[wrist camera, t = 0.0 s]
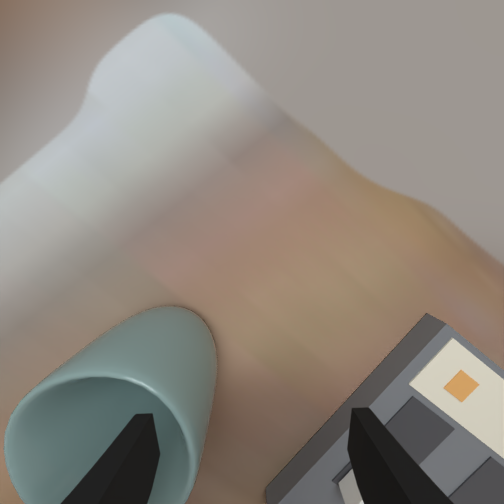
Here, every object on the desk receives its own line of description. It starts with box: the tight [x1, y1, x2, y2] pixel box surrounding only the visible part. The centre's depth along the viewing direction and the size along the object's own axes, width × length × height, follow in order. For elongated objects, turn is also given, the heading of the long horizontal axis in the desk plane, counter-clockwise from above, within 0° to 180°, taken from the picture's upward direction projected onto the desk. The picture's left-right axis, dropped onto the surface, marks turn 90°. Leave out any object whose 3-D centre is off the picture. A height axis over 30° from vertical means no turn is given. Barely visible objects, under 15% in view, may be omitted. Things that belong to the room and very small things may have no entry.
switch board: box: [266, 313, 504, 504], centre depth 20 cm, size 20×24×2 cm
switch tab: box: [338, 469, 364, 504], centre depth 18 cm, size 4×4×2 cm
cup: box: [4, 306, 217, 504], centre depth 15 cm, size 8×8×10 cm
